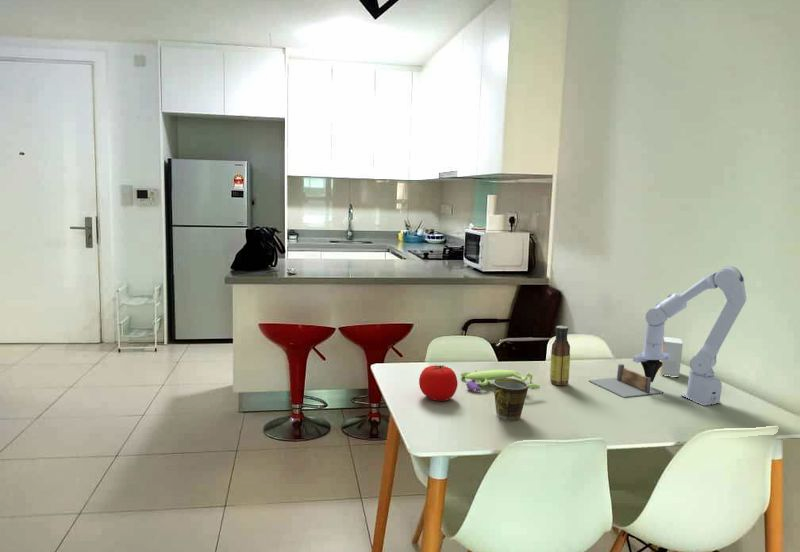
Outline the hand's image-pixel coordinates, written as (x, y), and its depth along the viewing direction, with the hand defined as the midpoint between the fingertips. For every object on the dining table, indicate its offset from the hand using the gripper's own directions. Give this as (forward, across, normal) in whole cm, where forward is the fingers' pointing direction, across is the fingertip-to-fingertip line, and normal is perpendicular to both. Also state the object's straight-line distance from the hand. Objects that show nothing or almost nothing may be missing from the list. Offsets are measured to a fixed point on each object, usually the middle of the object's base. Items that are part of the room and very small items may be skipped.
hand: (649, 381), depth 211 cm
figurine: (+3, +50, -15) cm, 52 cm away
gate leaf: (+2, +5, -2) cm, 5 cm away
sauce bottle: (+3, +28, -12) cm, 31 cm away
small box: (+3, -20, -11) cm, 23 cm away
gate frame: (+2, +7, -3) cm, 8 cm away
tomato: (+3, +75, -10) cm, 76 cm away
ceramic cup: (+3, +63, +10) cm, 64 cm away
